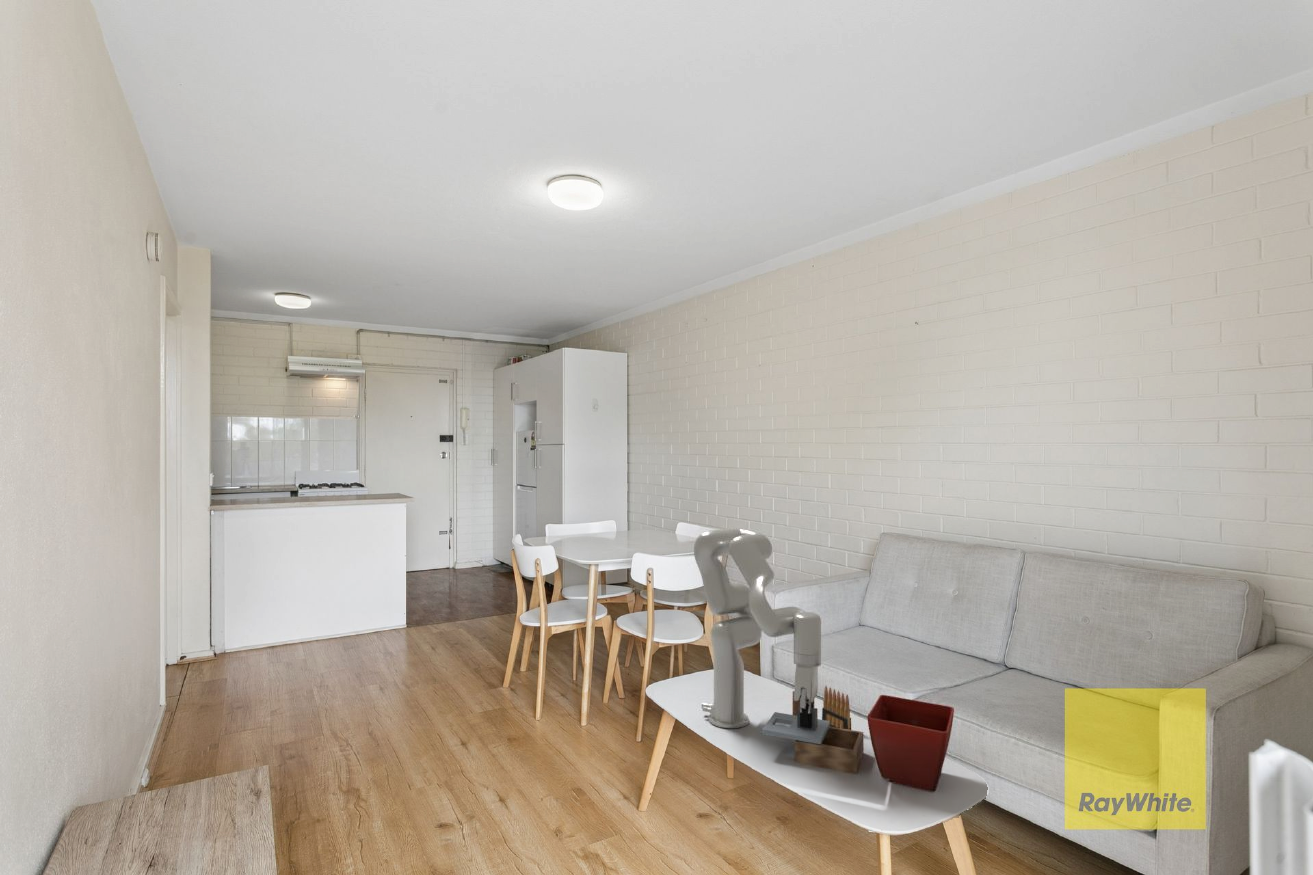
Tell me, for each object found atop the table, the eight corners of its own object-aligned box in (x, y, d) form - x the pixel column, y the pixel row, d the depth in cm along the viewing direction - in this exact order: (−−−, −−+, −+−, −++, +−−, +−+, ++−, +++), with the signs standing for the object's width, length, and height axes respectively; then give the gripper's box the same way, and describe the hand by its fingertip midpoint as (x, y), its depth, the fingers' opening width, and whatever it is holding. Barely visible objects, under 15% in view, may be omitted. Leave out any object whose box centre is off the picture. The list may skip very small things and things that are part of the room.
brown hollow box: (795, 765, 179) (795, 740, 179) (805, 745, 192) (805, 722, 192) (856, 778, 172) (856, 751, 172) (863, 756, 185) (863, 732, 185)
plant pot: (947, 802, 160) (947, 731, 161) (866, 783, 169) (866, 716, 170) (955, 770, 177) (954, 706, 177) (880, 754, 186) (880, 694, 187)
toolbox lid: (762, 733, 183) (762, 710, 183) (774, 715, 196) (774, 694, 196) (820, 744, 176) (820, 720, 176) (830, 725, 189) (830, 703, 189)
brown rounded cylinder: (791, 735, 199) (791, 693, 199) (793, 731, 202) (793, 690, 202) (801, 737, 198) (801, 694, 198) (803, 733, 200) (803, 691, 201)
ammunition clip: (851, 735, 199) (851, 694, 200) (847, 736, 198) (847, 695, 199) (826, 722, 209) (825, 684, 209) (821, 723, 208) (821, 685, 208)
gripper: (800, 648, 194) (800, 712, 194) (787, 664, 179) (787, 733, 179) (826, 652, 191) (826, 716, 191) (815, 668, 176) (815, 738, 176)
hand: (807, 724), depth 185 cm, fingers closed on toolbox lid, 3 cm apart
